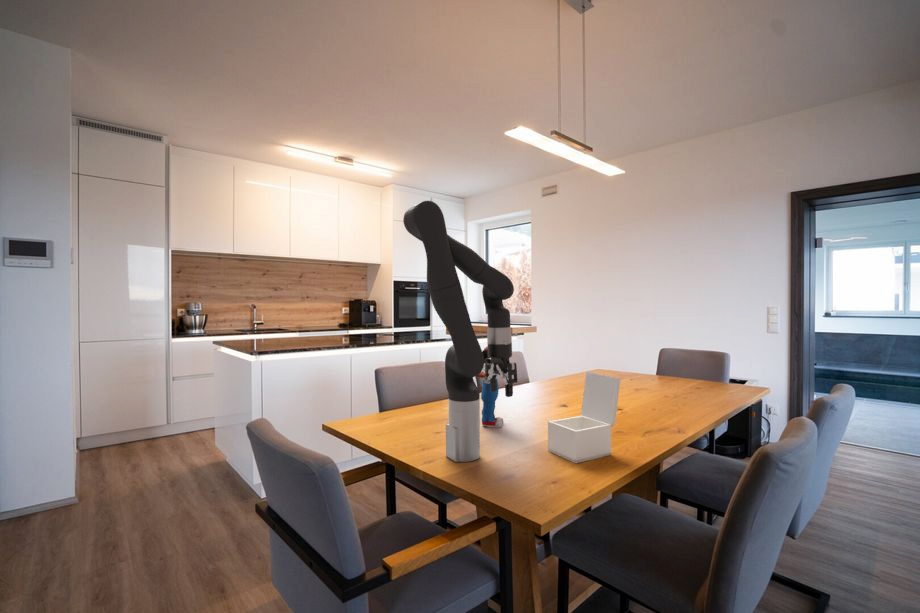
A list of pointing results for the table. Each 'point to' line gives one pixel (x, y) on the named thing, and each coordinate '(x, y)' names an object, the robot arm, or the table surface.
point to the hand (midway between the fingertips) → (501, 393)
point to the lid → (600, 397)
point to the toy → (489, 399)
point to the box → (579, 438)
